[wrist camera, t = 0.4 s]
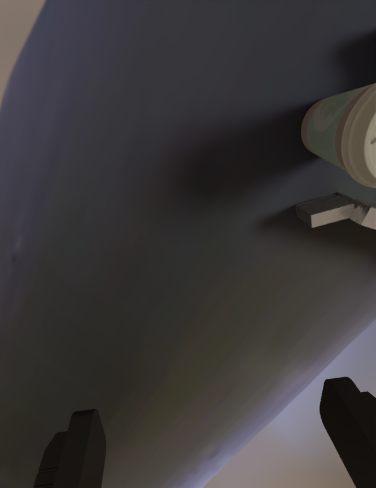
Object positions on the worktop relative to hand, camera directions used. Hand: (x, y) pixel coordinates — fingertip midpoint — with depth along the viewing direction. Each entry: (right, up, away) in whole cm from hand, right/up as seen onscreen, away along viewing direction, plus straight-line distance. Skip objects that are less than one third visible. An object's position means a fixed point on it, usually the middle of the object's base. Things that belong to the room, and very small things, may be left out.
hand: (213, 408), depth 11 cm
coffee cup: (+14, +19, +22) cm, 32 cm away
